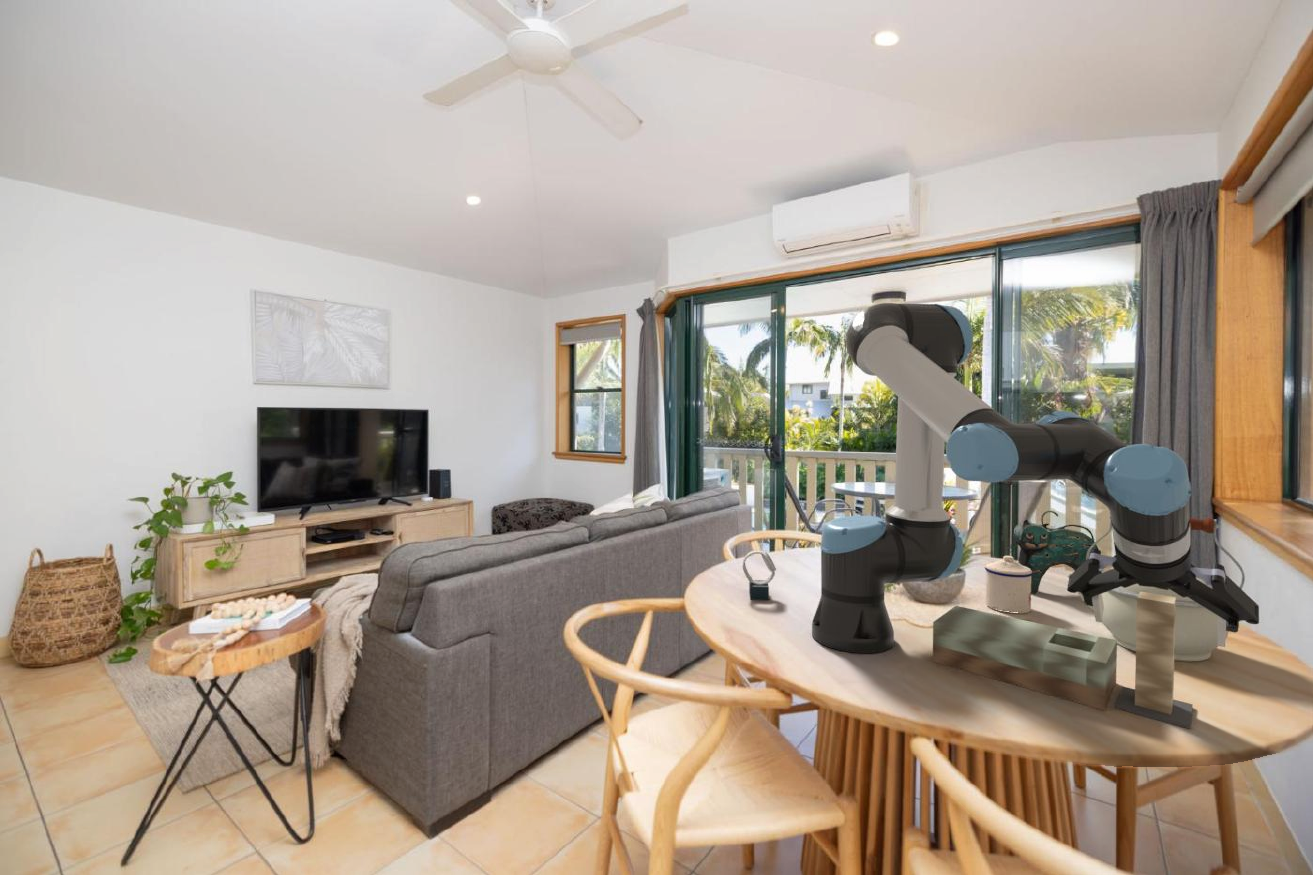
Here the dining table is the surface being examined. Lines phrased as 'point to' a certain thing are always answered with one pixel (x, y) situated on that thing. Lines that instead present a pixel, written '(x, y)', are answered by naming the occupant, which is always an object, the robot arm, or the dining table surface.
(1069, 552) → the ceramic cat
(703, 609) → the dining table surface
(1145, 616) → the wooden block
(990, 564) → the teacup with lid
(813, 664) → the dining table surface
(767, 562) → the watch
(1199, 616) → the kettle
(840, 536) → the robot arm
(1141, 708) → the rubber mat
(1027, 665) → the green block with hole
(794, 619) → the dining table surface
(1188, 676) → the dining table surface
